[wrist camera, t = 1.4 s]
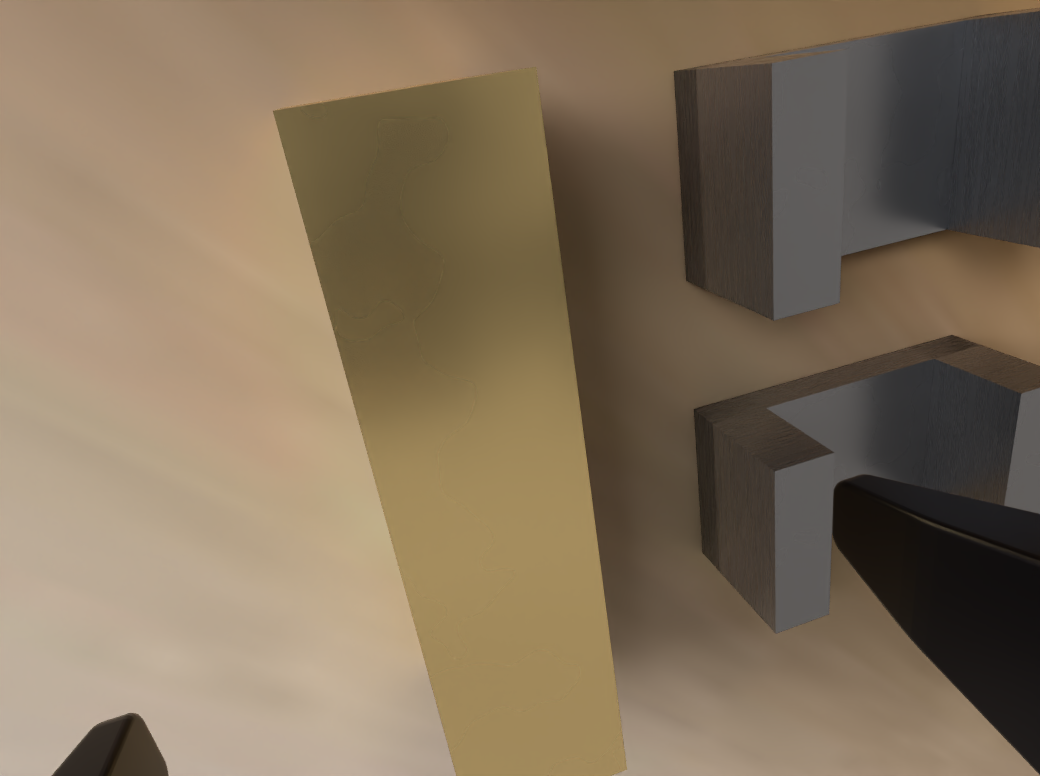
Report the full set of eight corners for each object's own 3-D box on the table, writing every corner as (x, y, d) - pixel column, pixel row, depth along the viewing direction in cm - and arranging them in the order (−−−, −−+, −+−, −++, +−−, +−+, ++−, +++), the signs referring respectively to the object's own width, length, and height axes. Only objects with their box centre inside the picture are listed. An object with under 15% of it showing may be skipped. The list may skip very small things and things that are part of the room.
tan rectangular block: (549, 613, 17) (626, 769, 13) (428, 653, 17) (471, 829, 13) (457, 78, 12) (536, 67, 8) (280, 108, 12) (272, 111, 8)
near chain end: (964, 211, 16) (1098, 233, 13) (686, 280, 15) (773, 320, 12) (985, 14, 14) (1143, -6, 12) (673, 71, 13) (771, 63, 10)
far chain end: (937, 474, 19) (1043, 535, 16) (702, 552, 18) (775, 633, 15) (952, 335, 17) (1072, 377, 15) (693, 409, 16) (774, 471, 13)
